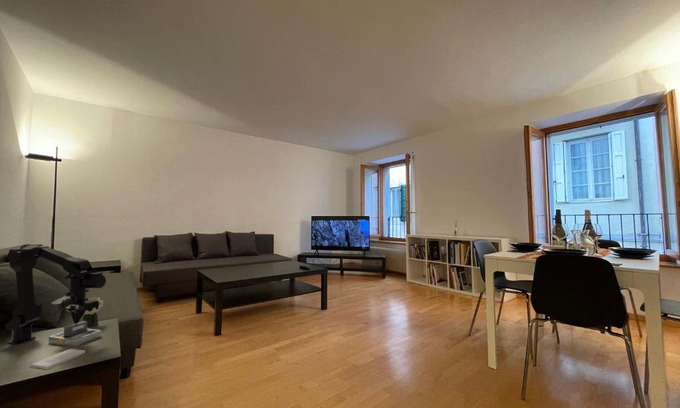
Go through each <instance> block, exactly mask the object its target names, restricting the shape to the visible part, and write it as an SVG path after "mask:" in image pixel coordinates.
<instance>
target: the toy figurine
mask: <svg viewBox="0 0 680 408" xmlns="http://www.w3.org/2000/svg"><path fill="white" fill-rule="evenodd" d="M90 300H97V301H99V302H100V303H99V307H96V308H92V309H89V310H86V311H85V313H84V314H83V316H82V320H81V321H87V328H89V327H92V326H93V324H94V326H96V325H98V324H99V317H98V313H97V312H99V310H100V309H101V308H103V307H104V300H101V298H100V297H91V298H88V301H90ZM85 302H86V301H85Z"/></svg>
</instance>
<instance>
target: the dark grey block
mask: <svg viewBox="0 0 680 408" xmlns="http://www.w3.org/2000/svg"><path fill="white" fill-rule="evenodd" d="M87 329H88V327H87V321H82V320H80V321H79V323H77V324H74V323H72V324H69V325H65V326H64V327H63V332H64V338H69V337H72V336H74V335H77V334H80V333H83V332H86V331H87Z"/></svg>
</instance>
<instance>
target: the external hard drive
mask: <svg viewBox="0 0 680 408" xmlns="http://www.w3.org/2000/svg"><path fill="white" fill-rule="evenodd" d="M84 354H86V350H82V349H75V348H69V349H67V350H64V351H61V352H58V353H56V354H54V355H51V356H49V357H46V358H44V359H42V360H39V361H36V362H34V363H32V364H30V367H29V368H33V369H35V368H36V369H42V370H50V369H51V368H53V367H55V366H59V365H60V364H63V363H65V362H68V361H70V360H72V359H74V358H77V357H79V356H82V355H84Z"/></svg>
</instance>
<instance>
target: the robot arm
mask: <svg viewBox="0 0 680 408" xmlns="http://www.w3.org/2000/svg"><path fill="white" fill-rule="evenodd" d="M40 258H42V259H44V260H47V261H50V262H51V263H54V264H56V265H58V266H60V267H62V270H63V271H65V272H67V273H68V274H67V275H66V276H65V277H64V279H65V280H69V281H68V282H69V283H68V287H69V288H68V291H65V295H64V296H62V297H60V298H58V299H56V300H54V301H52V302H51V306H52V308H53V310H54V311H55V310H56V311H57V310H58V311H62V310H64V311H67V312H68V313H69V314H70V316H71V319H72V321H73V324H77V323H79V322H81V319H83V316H84V315H85V314H84V313H85V311H86V310H89V309H92V308H96V307H99V303H100V302H99V301H97V300H90V301H88V299H89V297H87V293H88V292H89V293H90V291H89V290H90V289H101V288H103V287H104V286H105V285H106V282H107V278H106V276H105V275H103V272H97V271H96V270H95V269H94V268H93V266H92V264H91V263H90V261H89V260H88V259H85V258H80V257H72V256H70V255H67V254H65V253H63V252H60V251H59V250H55V249H53V248H52V247H50V246H47V245H41V246H36V247H32V248H30V249H26V250H22V251H15V252H12V253H11V254H10V255H9V256H8V263H9V267H10V268H11V269H12V270H13V271H14V272H15V278H16V279H15V280H16V293H17V294H16V295H17V306H16V307H15V308H14V310H13V312H12V318H11V319H10V320H9V321H8V322H7V323H6V324H5V325H4V328H5V330H6V331H11V339H10V340H8V341H6V343H7V344H12V345H13V344H15V345H18V344H21V343H24V342H27V341H29V340H34V339H36V336H34V335H32V334H33V329H32V327H33V325H34V324H37V323H38V322H39V320H40V318H41V316H42V313H43V312H44V311H43V310H42V309H43V304H41V303H37V302H36V300H35V290H34V288H35V287H34V275H33V274H34V273H33V272H34V271H33V270H34V268H35V267H36V266H37V264H38V259H40ZM85 301H86V302H85ZM100 304H101V303H100Z"/></svg>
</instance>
